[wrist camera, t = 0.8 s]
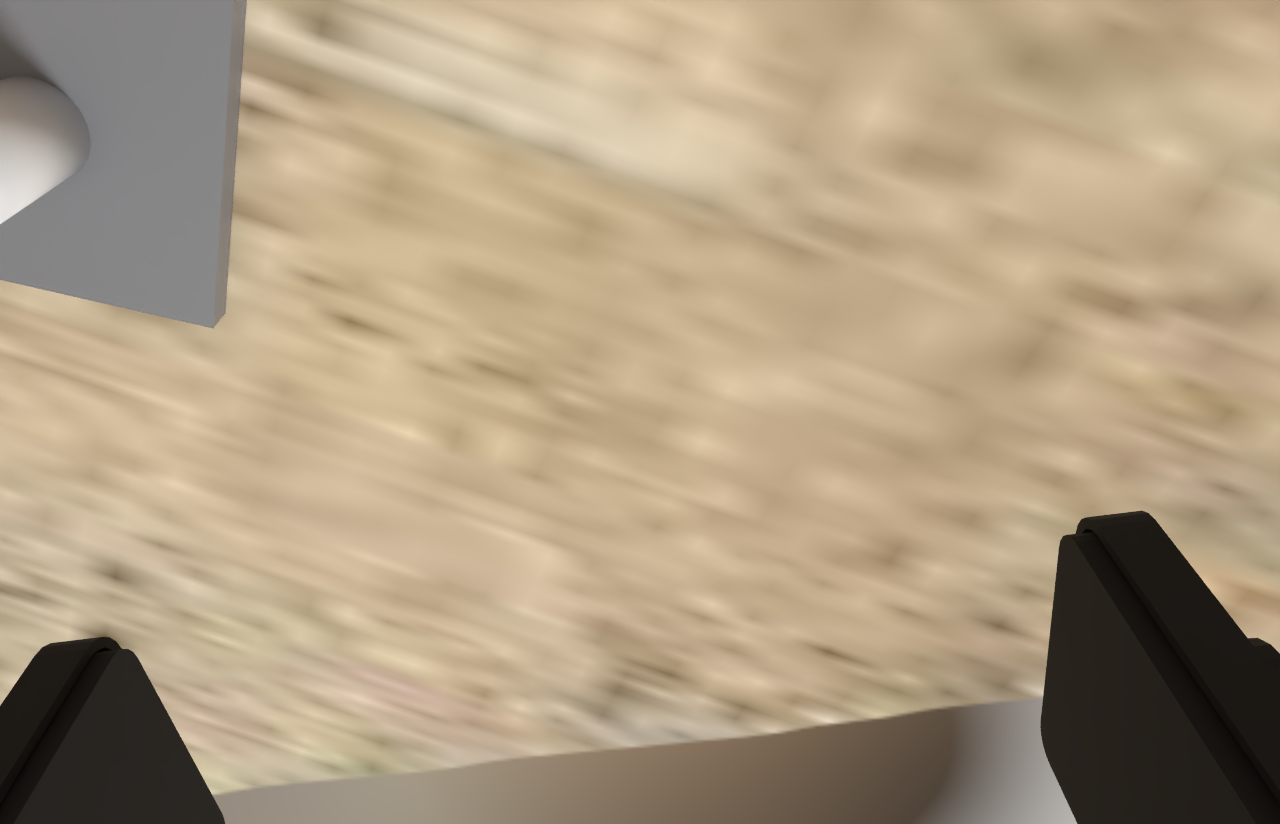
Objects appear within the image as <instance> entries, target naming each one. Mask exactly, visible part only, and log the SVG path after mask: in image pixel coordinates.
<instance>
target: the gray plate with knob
mask: <svg viewBox="0 0 1280 824" xmlns="http://www.w3.org/2000/svg"><path fill="white" fill-rule="evenodd" d="M245 14H246V0H0V280H4V281H8V282H12V283H17V284H21V285H26V286H30V287H34V288H39V289H43V290H47V291H52V292H56V293H61V294H65V295H69V296H74V297H78V298H83V299H87V300H91V301H96V302H100V303H104V304H109V305H113V306H118V307H122V308H126V309H131V310H135V311H139V312H144V313H148V314H153V315H157V316H161V317H166V318H170V319H174V320H179V321H183V322H188V323H192V324H196V325H201V326H205V327H209V328H214V327H215V325H216V324H217V323H218V322H219V320H220V319H221V318H222V316H223V315H224V314H225V307H226V293H227V278H228V263H229V249H230V234H231V219H232V205H233V190H234V175H235V161H236V146H237V132H238V117H239V102H240V88H241V73H242V58H243V44H244V29H245Z"/></svg>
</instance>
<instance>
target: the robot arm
mask: <svg viewBox="0 0 1280 824" xmlns="http://www.w3.org/2000/svg"><path fill="white" fill-rule="evenodd" d="M1041 736H1042V741H1043V746H1044V749H1045V753H1046V756H1047V758H1048V761H1049V763H1050V766H1051V768H1052V770H1053V772H1054V774H1055V776H1056V778H1057V780H1058V783H1059V785H1060V787H1061V789H1062V791H1063V793H1064V796H1065V798H1066V800H1067V802H1068V804H1069V806H1070V808H1071V811H1072V813H1073V815H1074V817H1075V819H1076V821H1077V824H1280V653H1279V652H1278V651H1277V650H1276V649H1275V648H1274V647H1273V646H1272V645H1270V644H1268V643H1266V642H1265V641H1263V640H1261V639H1259V638H1247V637H1246V636H1245V634H1244V633H1243V632H1242V631H1241V629H1240V628H1239V627H1238V625H1237V624H1236V623H1235V622H1234V620H1233V619H1232V618H1231V616H1230V615H1229V614H1228V613H1227V611H1226V610H1225V609H1224V607H1223V606H1222V605H1221V604H1220V602H1219V601H1218V600H1217V598H1216V597H1215V596H1214V595H1213V593H1212V592H1211V591H1210V589H1209V588H1208V587H1207V586H1206V584H1205V583H1204V582H1203V580H1202V579H1201V578H1200V577H1199V575H1198V574H1197V573H1196V572H1195V570H1194V569H1193V568H1192V566H1191V565H1190V564H1189V563H1188V561H1187V560H1186V559H1185V557H1184V556H1183V555H1182V554H1181V552H1180V551H1179V550H1178V548H1177V547H1176V546H1175V545H1174V543H1173V542H1172V541H1171V539H1170V538H1169V537H1168V536H1167V534H1166V533H1165V532H1164V530H1163V529H1162V528H1161V527H1160V525H1159V524H1158V523H1157V521H1156V520H1155V519H1154V518H1153V517H1152V516H1151V515H1150V514H1149V513H1147V512H1144V511H1136V512H1128V513H1119V514H1111V515H1103V516H1095V517H1087V518H1084V519H1081V521H1080V522H1079V524H1078V526H1077V531H1076V534H1071V535H1065V536H1063V537H1062V539H1061V541H1060V546H1059V554H1058V563H1057V573H1056V582H1055V592H1054V601H1053V610H1052V620H1051V629H1050V639H1049V648H1048V658H1047V667H1046V677H1045V686H1044V696H1043V706H1042V714H1041ZM0 824H225V821H224V818H223V815H222V812H221V811H220V809H219V807H218V805H217V803H216V802H215V800H214V798H213V796H212V794H211V792H210V790H209V788H208V787H207V785H206V783H205V781H204V779H203V777H202V776H201V774H200V772H199V770H198V768H197V766H196V765H195V763H194V761H193V759H192V757H191V755H190V753H189V752H188V750H187V748H186V746H185V744H184V742H183V741H182V739H181V737H180V735H179V733H178V731H177V730H176V728H175V726H174V724H173V722H172V720H171V718H170V717H169V715H168V713H167V711H166V709H165V707H164V706H163V704H162V702H161V700H160V698H159V696H158V695H157V693H156V691H155V689H154V687H153V685H152V683H151V682H150V680H149V678H148V676H147V674H146V672H145V671H144V669H143V667H142V665H141V663H140V661H139V660H138V658H137V656H136V655H135V654H134V652H132V651H130V650H129V649H122V648H121V647H120V646H119V644H118V643H117V642H116V641H114V640H113V639H111V638H109V637H99V638H90V639H82V640H74V641H66V642H57V643H51V644H48V645H46V646H44V647H42V648H41V650H40V651H39V652H38V653H37V654H36V655H35V656H34V658H33V659H32V661H31V662H30V664H29V665H28V666H27V668H26V669H25V671H24V672H23V674H22V675H21V677H20V678H19V680H18V681H17V682H16V684H15V685H14V687H13V688H12V690H11V691H10V693H9V694H8V695H7V697H6V698H5V700H4V701H3V703H2V704H1V706H0Z"/></svg>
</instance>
